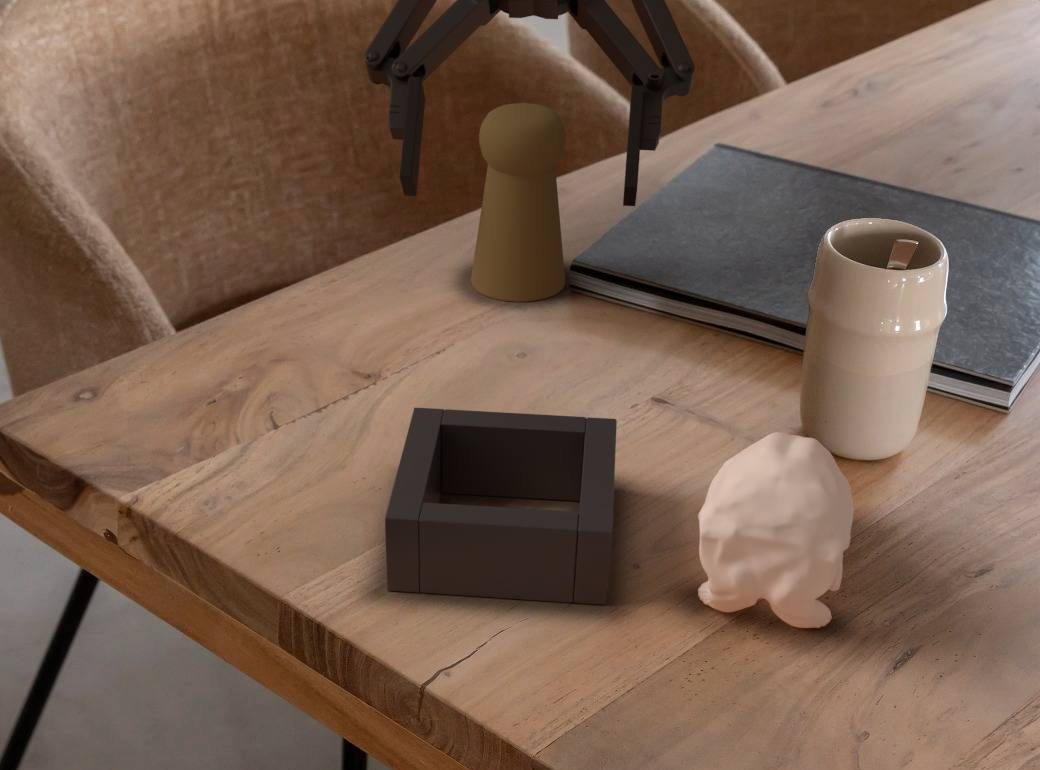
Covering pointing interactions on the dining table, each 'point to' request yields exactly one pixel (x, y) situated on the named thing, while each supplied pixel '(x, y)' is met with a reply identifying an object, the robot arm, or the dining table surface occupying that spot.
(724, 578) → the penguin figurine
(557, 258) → the cork
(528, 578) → the socket base
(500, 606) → the dining table surface
